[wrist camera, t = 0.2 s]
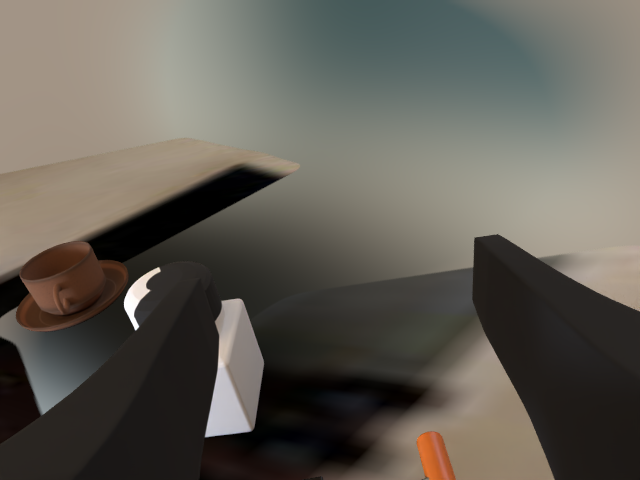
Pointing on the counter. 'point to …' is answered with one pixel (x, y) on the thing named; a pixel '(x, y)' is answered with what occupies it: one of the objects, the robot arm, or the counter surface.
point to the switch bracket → (316, 479)
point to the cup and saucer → (68, 287)
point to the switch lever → (434, 457)
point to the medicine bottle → (234, 344)
